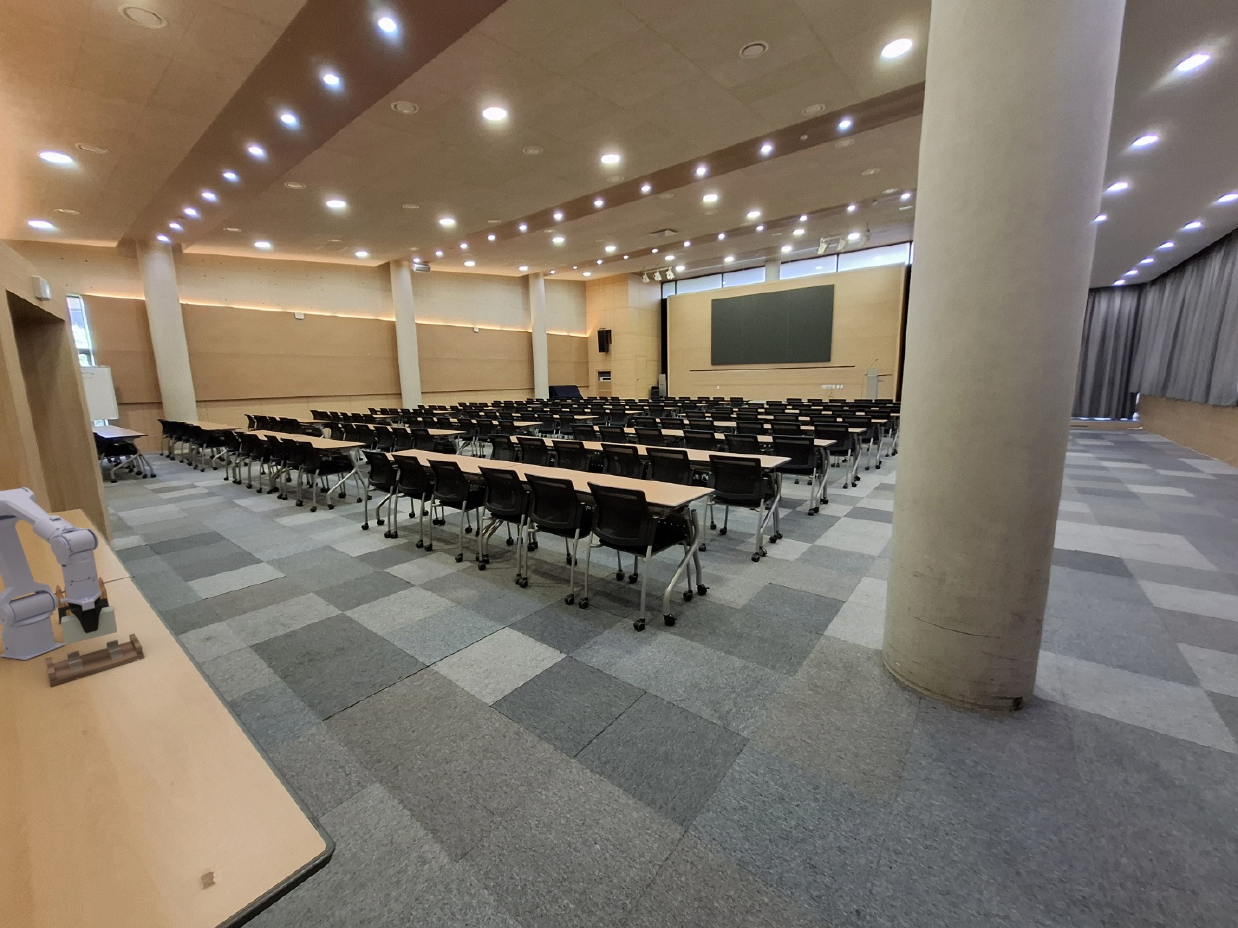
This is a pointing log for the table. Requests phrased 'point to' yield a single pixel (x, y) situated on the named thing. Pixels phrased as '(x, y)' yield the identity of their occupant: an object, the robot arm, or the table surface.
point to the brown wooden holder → (94, 661)
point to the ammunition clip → (66, 608)
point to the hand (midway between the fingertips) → (90, 628)
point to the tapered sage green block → (76, 633)
